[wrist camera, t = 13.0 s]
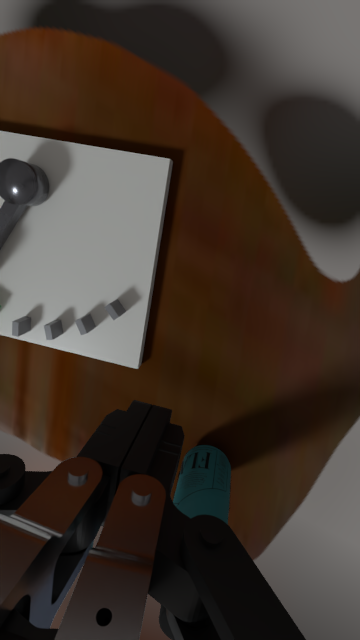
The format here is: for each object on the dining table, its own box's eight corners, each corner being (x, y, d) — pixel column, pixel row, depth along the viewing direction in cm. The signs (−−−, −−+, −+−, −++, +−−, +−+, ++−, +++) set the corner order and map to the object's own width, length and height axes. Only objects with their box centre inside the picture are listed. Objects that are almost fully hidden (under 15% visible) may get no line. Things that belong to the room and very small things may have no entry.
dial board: (-73, 120, 39) (-107, 109, 35) (173, 161, 35) (164, 153, 32) (-65, 313, 46) (-92, 321, 42) (141, 364, 42) (131, 377, 39)
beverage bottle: (217, 428, 43) (196, 588, 24) (242, 469, 44) (240, 653, 25) (175, 446, 45) (124, 607, 26) (200, 485, 46) (168, 666, 27)
